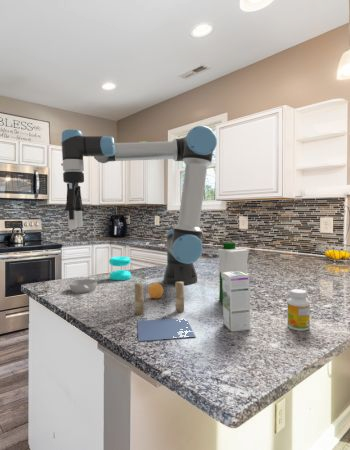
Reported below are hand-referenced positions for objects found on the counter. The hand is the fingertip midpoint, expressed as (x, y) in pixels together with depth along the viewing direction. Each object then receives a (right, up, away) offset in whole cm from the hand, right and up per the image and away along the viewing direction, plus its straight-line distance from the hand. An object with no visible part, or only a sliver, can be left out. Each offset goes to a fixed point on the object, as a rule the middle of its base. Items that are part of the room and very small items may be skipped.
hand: (75, 227), depth 119 cm
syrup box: (+54, -26, -36) cm, 70 cm away
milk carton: (+58, -25, -12) cm, 64 cm away
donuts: (+12, -24, +28) cm, 39 cm away
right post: (+39, -26, -22) cm, 52 cm away
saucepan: (+2, -26, +3) cm, 26 cm away
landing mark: (+35, -26, -37) cm, 57 cm away
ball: (+31, -23, -7) cm, 39 cm away
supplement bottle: (+70, -26, -37) cm, 84 cm away
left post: (+27, -26, -24) cm, 44 cm away
